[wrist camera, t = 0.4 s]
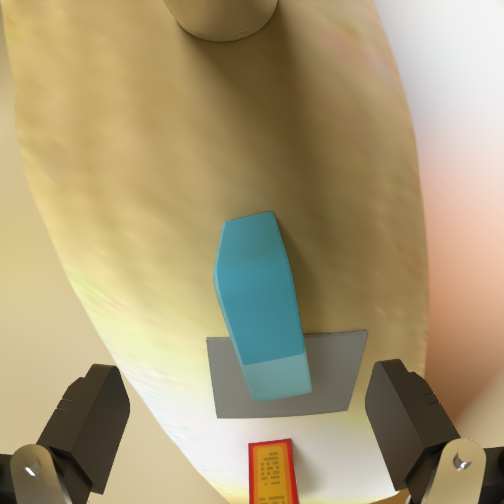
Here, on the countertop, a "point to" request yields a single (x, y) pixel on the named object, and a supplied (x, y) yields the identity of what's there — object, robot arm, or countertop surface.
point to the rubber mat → (317, 402)
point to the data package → (261, 308)
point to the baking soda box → (272, 473)
